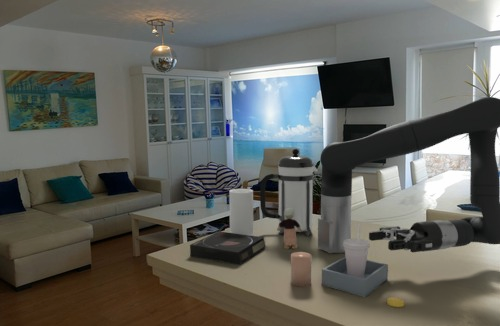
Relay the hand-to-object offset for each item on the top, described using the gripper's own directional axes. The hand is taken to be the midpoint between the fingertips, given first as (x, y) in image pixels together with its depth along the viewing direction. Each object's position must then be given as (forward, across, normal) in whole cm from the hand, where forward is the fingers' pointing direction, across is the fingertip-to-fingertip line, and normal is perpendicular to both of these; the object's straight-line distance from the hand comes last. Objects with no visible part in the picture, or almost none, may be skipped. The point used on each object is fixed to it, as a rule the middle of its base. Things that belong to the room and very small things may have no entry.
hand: (379, 240), depth 104 cm
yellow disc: (+4, +13, +10) cm, 17 cm away
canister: (+19, -4, +10) cm, 22 cm away
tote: (+6, 0, +10) cm, 12 cm away
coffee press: (+4, -48, +10) cm, 49 cm away
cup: (+23, -49, +10) cm, 55 cm away
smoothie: (+6, 0, +10) cm, 12 cm away
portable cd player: (+31, -32, +11) cm, 46 cm away
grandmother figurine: (+12, -32, +10) cm, 35 cm away
